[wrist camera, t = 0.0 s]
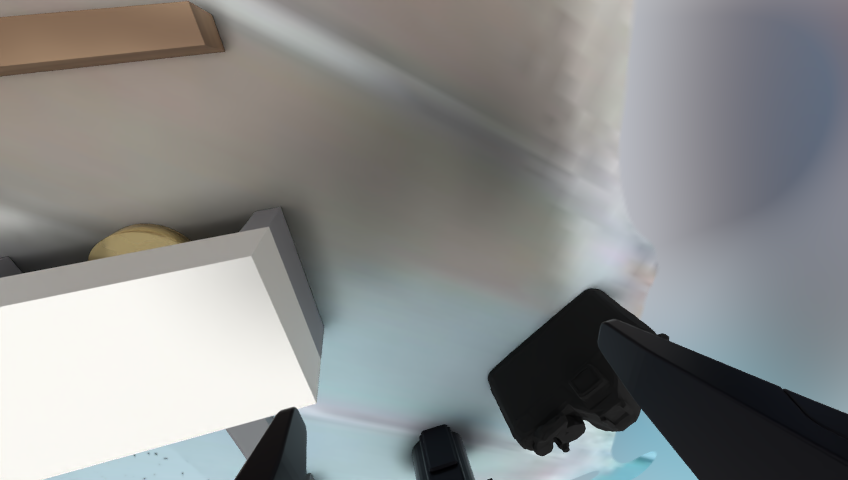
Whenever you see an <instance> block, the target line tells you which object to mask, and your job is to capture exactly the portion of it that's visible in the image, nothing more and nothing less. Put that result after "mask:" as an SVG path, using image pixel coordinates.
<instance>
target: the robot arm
mask: <svg viewBox="0 0 848 480" xmlns="http://www.w3.org/2000/svg"><path fill="white" fill-rule="evenodd" d="M598 346H599V349H600V350H601V352H602V353H603V355H604V356H605V358H606V359H607V361H608V362H609V364H610V365H611V367H612V368H613V370H614V371H615V373H616V374H617V376H618V377H619V379H620V380H621V382H622V383H623V385H624V386H625V388H626V389H627V390H628V392H629V393H630V395H631V396H632V397H633V399H634V400H635V401H636V403H637V404H638V405H639V406H640V408H641V409H642V410H643V411H644V412H645V414H646V415H647V416H648V417H649V419H650V420H651V421H652V422H653V424H654V425H655V426H656V427H657V429H658V430H659V431H660V432H661V434H662V435H663V436H664V437H665V438H666V440H667V441H668V442H669V443H670V445H671V446H672V447H673V448H674V450H675V451H676V452H677V453H678V455H679V456H680V457H681V458H682V459H683V461H684V462H685V463H686V465H687V466H688V467H689V468H690V469H691V471H692V472H693V473H694V474H695V476H696V477H697V478H698V479H699V480H848V414H846V413H844V412H841V411H839V410H836V409H834V408H831V407H829V406H826V405H823V404H821V403H818V402H816V401H814V400H811V399H809V398H806V397H804V396H801V395H799V394H796V393H794V392H791V391H789V390H787V389H782V388H781V387H779V386H777V385H775V384H772V383H770V382H767V381H765V380H762V379H760V378H758V377H755V376H753V375H750V374H748V373H745V372H743V371H741V370H738V369H736V368H733V367H731V366H728V365H726V364H724V363H721V362H719V361H716V360H714V359H712V358H709V357H707V356H704V355H702V354H699V353H697V352H695V351H692V350H690V349H687V348H685V347H682V346H680V345H678V344H675V343H672V342H670V341H668V340H665V339H663V338H661V337H658V336H656V335H653V334H651V333H649V332H646V331H644V330H641V329H639V328H636V327H634V326H632V325H629V324H627V323H624V322H622V321H619V320H616V319H613V320H609V321H605V322H603V323H602V324H601V326H600V331H599V336H598ZM419 439H420V440H419V442H418V443H417V444H416V445H415V446H414V448H413V450H412V457H413V463H414V469H415V474H416V480H475V478H474V475H473V472H472V469H471V466H470V463H469V460H468V457H467V454H466V451H465V448H464V445H463V442H462V438H461V436H460V435H459V434H458V433H456V432H453V431H451V430H450V427H447V425H446V424H444V425H441V426H437V427H434V428H431V429H428V430H424V431H422V432H421V435H420V436H419ZM306 444H307V432H306V426H305V423H304V421H303V419H302V417H301V415H300V413H299V411H298V409H297V408H296V407H290V408H287V409H283V410H280V411H279V412H278V413H277V414H276V416H275V417H274V419H273V420H272V422H271V424H270V425H269V427H268V428H267V430H266V431H265V433H264V434H263V436H262V437H261V439H260V441H259V442H258V444H257V445H256V447H255V448H254V450H253V451H252V453H251V455H250V456H249V458H248V459H247V461H246V462H245V464H244V465H243V467H242V469H241V470H240V472H239V473H238V475H237V476H236V478H235V479H234V480H306ZM488 480H492V478H491V479H488Z"/></svg>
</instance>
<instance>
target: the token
mask: <svg viewBox="0 0 848 480" xmlns="http://www.w3.org/2000/svg"><path fill="white" fill-rule="evenodd" d="M186 242H191V241H190V240H189V239H188V238H187V237H185V236H184V235H182V234H181V233H179V232H177V231H175V230H173V229H170V228H167V227H164V226H160V225H155V224H135V225H131V226H127V227H124V228H122V229H120V230H118V231H117V232H115V233H113V234H112V235H110V236H108V237H107V238H105V239H103V240H102V241H100V242H99V243H98V244H96V245H95V246H94V248H93V249H92V250H91V252H90V254H89V257H88V261H91V260H97V259H102V258H107V257H112V256H117V255H123V254H128V253H133V252H138V251H144V250H149V249H154V248H159V247H165V246H170V245H175V244H180V243H186Z"/></svg>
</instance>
